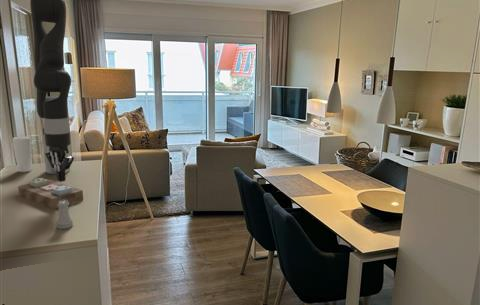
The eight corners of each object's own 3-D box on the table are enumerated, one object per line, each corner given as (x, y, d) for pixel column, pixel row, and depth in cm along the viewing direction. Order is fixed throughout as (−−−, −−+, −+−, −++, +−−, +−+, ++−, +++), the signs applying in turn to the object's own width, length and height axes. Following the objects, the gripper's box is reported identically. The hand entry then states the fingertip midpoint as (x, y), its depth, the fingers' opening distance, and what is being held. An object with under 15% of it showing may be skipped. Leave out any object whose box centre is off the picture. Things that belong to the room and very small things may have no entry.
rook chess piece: (60, 223, 105) (58, 198, 104) (75, 223, 106) (73, 198, 104) (53, 229, 101) (51, 204, 99) (69, 229, 102) (67, 204, 100)
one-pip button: (41, 193, 124) (40, 187, 123) (52, 190, 127) (52, 183, 127) (48, 196, 122) (47, 189, 121) (60, 192, 125) (59, 186, 125)
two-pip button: (52, 195, 120) (51, 188, 120) (64, 191, 124) (63, 184, 123) (60, 197, 118) (59, 190, 117) (71, 194, 122) (71, 187, 121)
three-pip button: (29, 186, 127) (29, 180, 126) (41, 183, 131) (40, 177, 130) (36, 189, 125) (35, 182, 124) (48, 186, 128) (47, 179, 128)
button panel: (19, 195, 125) (18, 186, 125) (48, 187, 135) (47, 179, 134) (53, 209, 115) (52, 199, 114) (83, 199, 124) (82, 190, 124)
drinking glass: (25, 173, 150) (22, 139, 147) (12, 172, 151) (8, 138, 148) (37, 169, 157) (34, 136, 153) (24, 168, 158) (21, 135, 154)
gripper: (79, 132, 116) (83, 181, 120) (56, 127, 122) (60, 175, 126) (58, 135, 109) (62, 187, 113) (34, 130, 116) (39, 180, 120)
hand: (61, 180), depth 120 cm, fingers closed
